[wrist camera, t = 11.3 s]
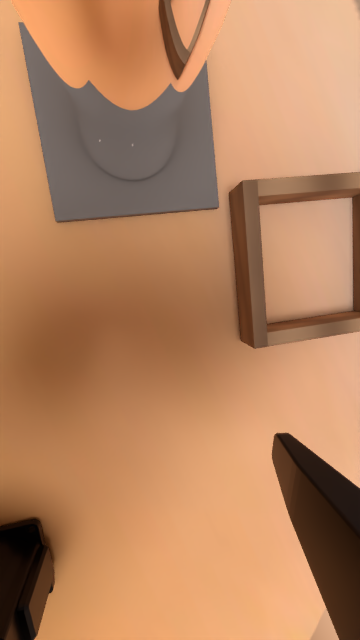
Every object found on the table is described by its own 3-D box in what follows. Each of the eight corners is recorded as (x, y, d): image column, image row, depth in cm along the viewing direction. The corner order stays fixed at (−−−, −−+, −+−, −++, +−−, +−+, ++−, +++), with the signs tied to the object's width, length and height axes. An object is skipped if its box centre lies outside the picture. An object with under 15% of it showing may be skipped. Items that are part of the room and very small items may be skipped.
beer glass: (58, 75, 16) (-701, -1893, 2) (171, 63, 17) (383, -1265, 2) (88, 196, 17) (-173, -237, 3) (191, 180, 18) (410, -216, 4)
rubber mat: (57, 222, 18) (55, 220, 17) (21, 30, 16) (18, 22, 15) (217, 208, 19) (219, 207, 19) (201, 31, 17) (203, 24, 17)
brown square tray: (240, 340, 21) (254, 348, 19) (229, 193, 19) (242, 180, 17) (364, 320, 23) (391, 326, 20) (364, 182, 21) (394, 169, 18)
